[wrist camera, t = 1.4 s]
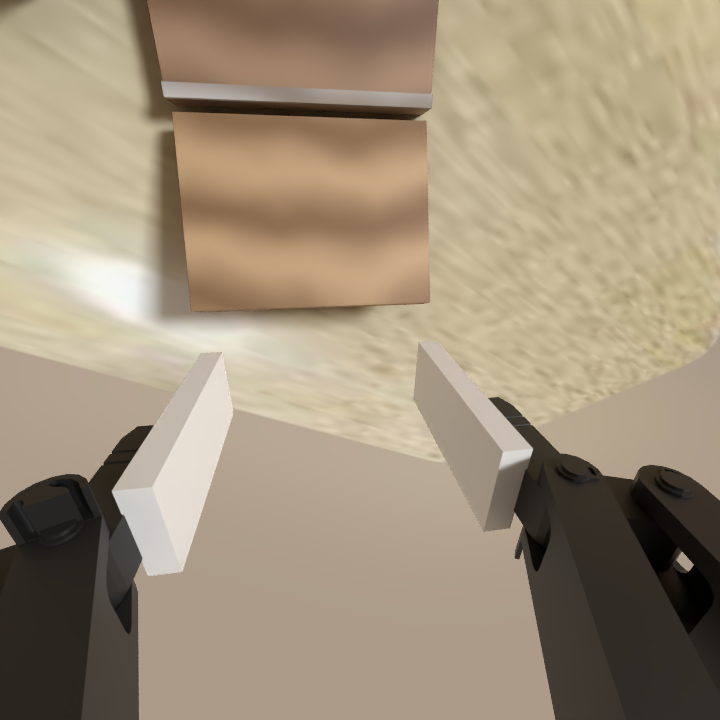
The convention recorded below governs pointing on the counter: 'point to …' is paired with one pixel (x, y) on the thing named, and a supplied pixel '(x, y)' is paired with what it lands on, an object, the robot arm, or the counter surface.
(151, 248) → the counter surface
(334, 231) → the oak plank
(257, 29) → the walnut board
